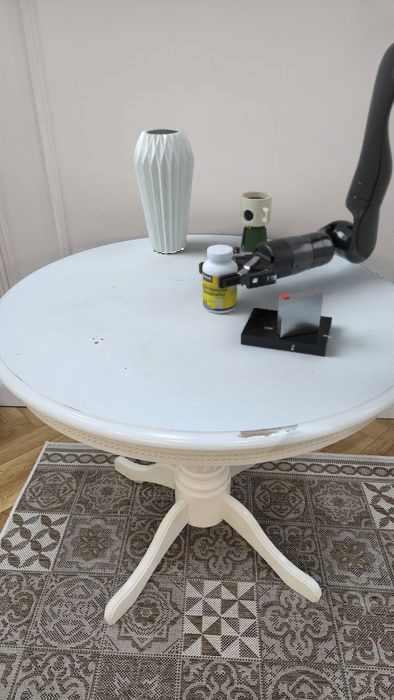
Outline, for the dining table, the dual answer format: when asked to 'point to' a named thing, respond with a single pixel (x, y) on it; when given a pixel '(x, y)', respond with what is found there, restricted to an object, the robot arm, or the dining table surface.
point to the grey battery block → (299, 313)
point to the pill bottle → (211, 270)
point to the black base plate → (264, 334)
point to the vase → (165, 185)
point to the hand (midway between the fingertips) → (209, 275)
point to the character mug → (255, 218)
